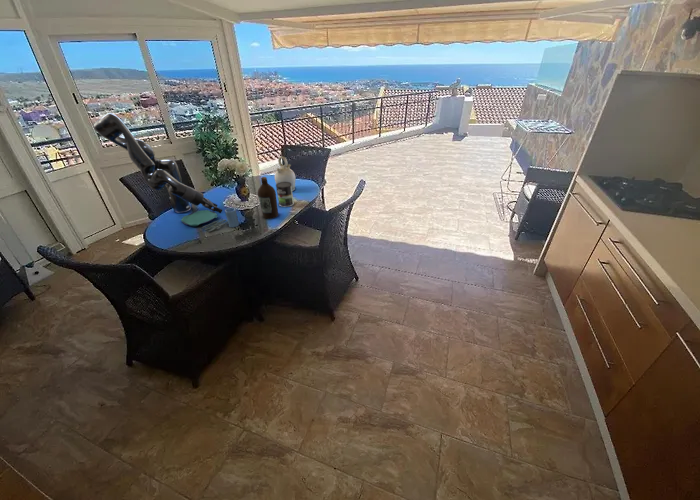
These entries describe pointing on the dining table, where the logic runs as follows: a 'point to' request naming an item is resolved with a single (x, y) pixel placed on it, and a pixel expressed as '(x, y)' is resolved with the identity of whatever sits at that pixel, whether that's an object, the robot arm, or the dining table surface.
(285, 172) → the jug
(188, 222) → the cutlery set
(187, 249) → the dining table surface
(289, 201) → the coffee can
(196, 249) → the dining table surface
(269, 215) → the brown bottle
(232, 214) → the cup
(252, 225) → the dining table surface
